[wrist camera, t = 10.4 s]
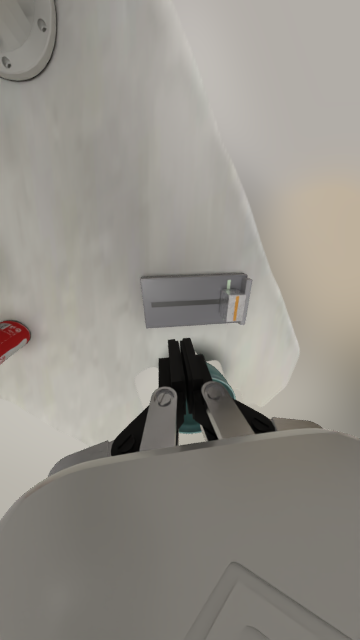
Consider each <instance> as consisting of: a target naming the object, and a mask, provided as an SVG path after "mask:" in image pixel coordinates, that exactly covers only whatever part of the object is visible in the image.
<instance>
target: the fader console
mask: <svg viewBox="0 0 360 640" xmlns="http://www.w3.org/2000/svg"><path fill="white" fill-rule="evenodd" d="M140 281H141V289H142V297H143V305H144V313H145V321H146V328H160V327H176V326H191V325H207V324H222V323H239V324H240V325H244V324H245V321H246V315H247V309H248V303H249V297H250V291H251V285H252V279H249V278H247V275H246V274H244V273H234V274H209V275H183V276H157V277H141V279H140ZM221 289H238V290H239V291H241V292H243V293H244V294H246V299H245V306H244V312H243V318H242V321H234V322H226V321H225V320H224V319H223V317H222V316H221V315H220V314H219V311H220V300H221Z"/></svg>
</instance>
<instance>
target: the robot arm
mask: <svg viewBox="0 0 360 640" xmlns="http://www.w3.org/2000/svg"><path fill="white" fill-rule="evenodd" d="M55 35H56V11H55V4H54V0H0V77H3V78H5V79H9V80H17V81H20V80H26V79H30V78H32V77H34V76H36V75H38V74H39V73H40V72H41V71H42V70H43V69H44V68H45V66H46V64H47V63H48V61H49V59H50V57H51V54H52V51H53V47H54V43H55ZM168 348H169V358H160V359H159V388H158V389H157V390H155V391H154V392H153V394H152V396H151V401H150V405H149V406H148V407H147V408H146V409H145V410H144V411H143V412H142V413H141V414H140V415H139V416H138V417H137V418H135V419H134V420H133V421H132V422H131V423H130V424H129V425H128V426H127V427H126V428H125V429H124V430H123V431H122V432H121V433H120V434H119V435H118V436H117V437H116V439H115V440H113V441H111V442H108V441H105V442H102V443H100V444H97V445H94V446H92V447H89V448H87V449H84V450H81V451H79V452H76V453H74V454H71V455H68V456H66V457H64V458H62V459H61V460H60V461H59V462H57V463H56V464H55V466H54V467H53V468H52V470H51V471H50V473H49V475H48V478H46V479H44V480H43V481H41V482H39V483H38V484H37V485H35V486H34V487H32V488H31V489H30V490H28V491H27V492H26V493H24V494H23V495H22V496H21V497H20V498H19V499H18V500H17V501H16V502H15V503H14V504H13V505H12V506H11V508H10V509H9V510H8V511H7V512H6V514H5V515H4V516H3V518H2V519H1V520H0V640H360V438H358V437H355V436H352V435H349V434H346V433H342V432H338V431H334V430H328V429H323V428H322V427H321V426H319V425H318V424H316V423H314V422H311V421H306V420H295V419H286V418H276V417H273V418H272V419H268V418H267V417H266V416H264V415H263V414H261V413H259V412H257V411H255V410H253V409H252V408H250V407H248V406H246V405H244V404H242V403H241V402H239V401H237V400H235V399H233V398H232V397H231V396H230V394H229V393H228V391H227V389H226V388H225V387H224V386H223V385H222V384H221V383H219V382H215V381H213V380H212V377H211V375H210V372H209V369H208V367H207V364H206V361H205V359H204V356H203V354H199V355H195V351H194V348H193V345H192V342H191V339H190V338H183V340H182V341H180V348H179V343H178V341H175V339H172V340H168ZM180 350H181V354H180ZM186 401H187V407H188V413H189V414H192V418H193V419H195V421H196V422H198V423H199V424H200V427H201V430H202V433H203V436H204V438H205V441H206V442H201V443H193V444H187V445H180V446H179V428H180V427H181V426H182V424H183V423H184V415H186Z"/></svg>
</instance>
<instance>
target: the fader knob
mask: <svg viewBox="0 0 360 640" xmlns="http://www.w3.org/2000/svg"><path fill="white" fill-rule="evenodd" d="M245 299H246V294H244V293H243V292H241V291H239V290H238V289H221V300H220V311H219V314H220V315H221V316H222V317H223V319H224V320H225V321H226V322H234V321H242V318H243V312H244V306H245Z"/></svg>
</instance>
